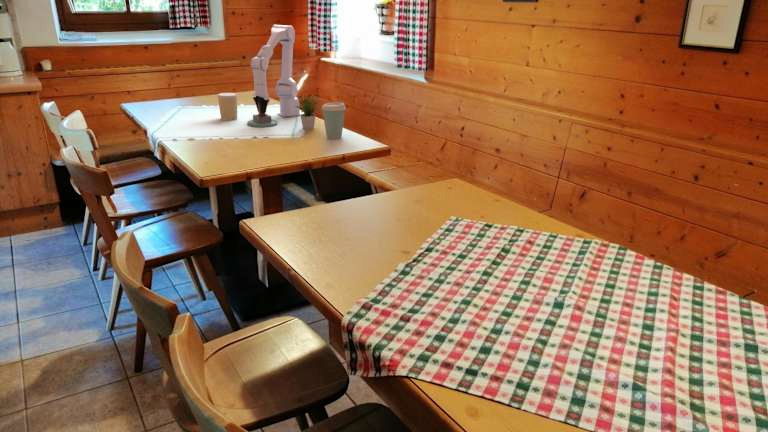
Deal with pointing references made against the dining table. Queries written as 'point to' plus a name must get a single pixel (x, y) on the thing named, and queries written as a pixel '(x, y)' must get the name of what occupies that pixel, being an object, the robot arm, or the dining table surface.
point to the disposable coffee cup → (334, 119)
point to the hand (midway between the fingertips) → (261, 112)
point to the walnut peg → (260, 112)
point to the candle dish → (262, 121)
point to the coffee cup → (228, 106)
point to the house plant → (308, 112)
